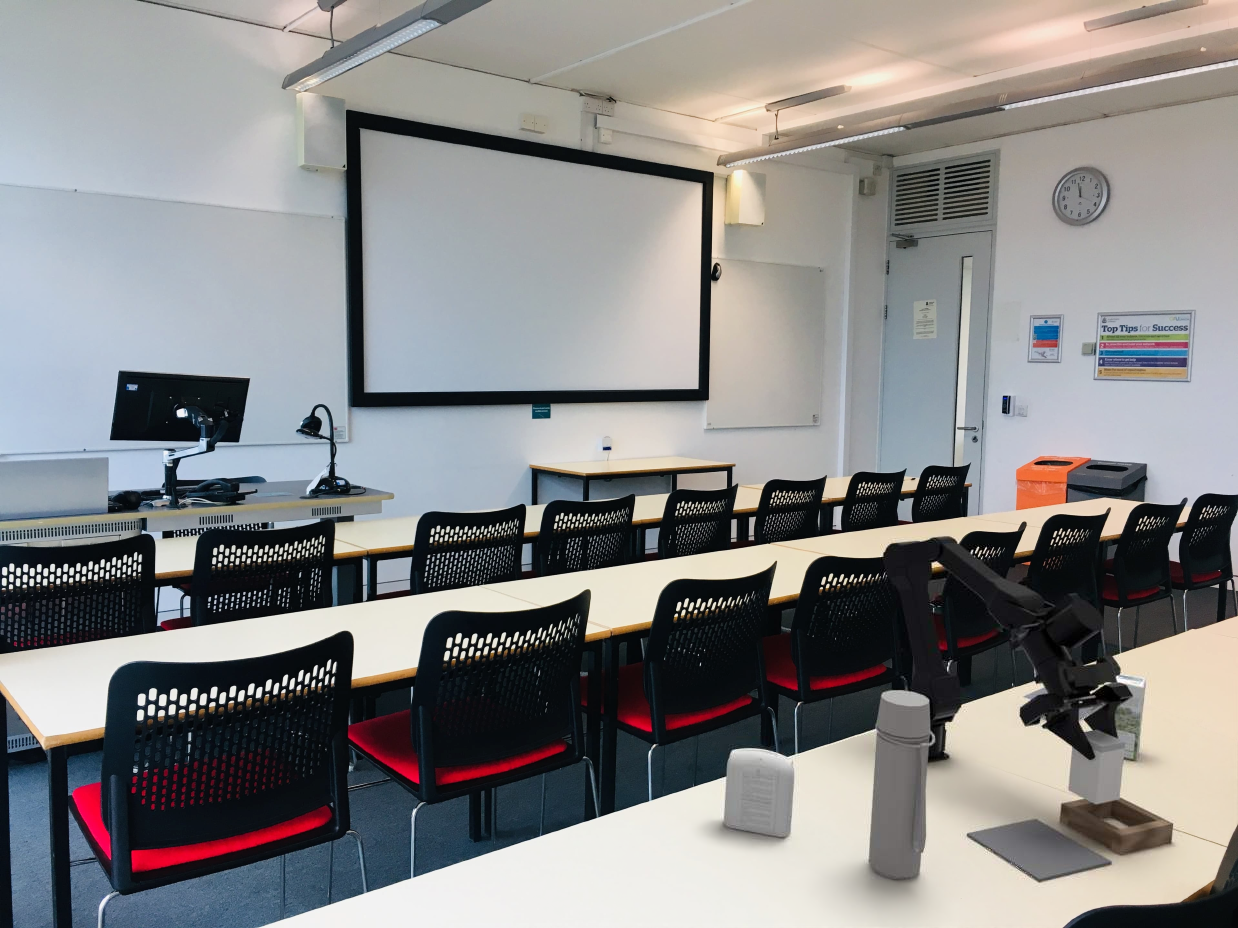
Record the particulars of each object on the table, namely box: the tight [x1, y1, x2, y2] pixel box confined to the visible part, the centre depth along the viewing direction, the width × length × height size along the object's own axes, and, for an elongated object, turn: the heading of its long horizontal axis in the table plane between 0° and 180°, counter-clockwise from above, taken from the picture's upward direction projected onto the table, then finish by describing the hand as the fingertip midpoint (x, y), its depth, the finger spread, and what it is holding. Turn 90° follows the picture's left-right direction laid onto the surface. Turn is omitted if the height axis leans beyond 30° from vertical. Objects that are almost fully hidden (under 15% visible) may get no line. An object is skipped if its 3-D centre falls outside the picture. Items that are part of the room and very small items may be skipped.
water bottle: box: [868, 689, 935, 880], centre depth 137 cm, size 9×8×25 cm
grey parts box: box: [1067, 729, 1125, 804], centre depth 149 cm, size 5×5×9 cm
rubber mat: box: [966, 818, 1112, 882], centre depth 146 cm, size 14×14×1 cm
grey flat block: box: [723, 747, 795, 838], centre depth 149 cm, size 10×4×12 cm, turn 72°
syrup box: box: [1108, 673, 1147, 762], centre depth 183 cm, size 6×6×14 cm
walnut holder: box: [1059, 797, 1174, 855], centre depth 152 cm, size 11×11×3 cm
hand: (1105, 756), depth 148 cm, fingers closed on grey parts box, 5 cm apart
